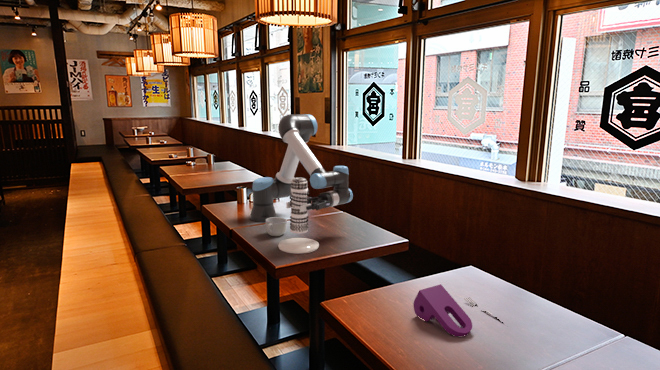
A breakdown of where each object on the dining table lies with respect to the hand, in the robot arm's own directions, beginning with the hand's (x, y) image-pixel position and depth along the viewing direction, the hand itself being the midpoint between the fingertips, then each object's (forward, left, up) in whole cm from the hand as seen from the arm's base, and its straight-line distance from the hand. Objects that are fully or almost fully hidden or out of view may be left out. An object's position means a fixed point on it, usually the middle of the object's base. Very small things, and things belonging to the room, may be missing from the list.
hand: (293, 207), depth 198 cm
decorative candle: (-3, +1, -12) cm, 13 cm away
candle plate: (-3, +1, -20) cm, 20 cm away
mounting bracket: (+33, +79, -20) cm, 88 cm away
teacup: (-11, -19, -20) cm, 30 cm away
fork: (+21, +92, -20) cm, 96 cm away
